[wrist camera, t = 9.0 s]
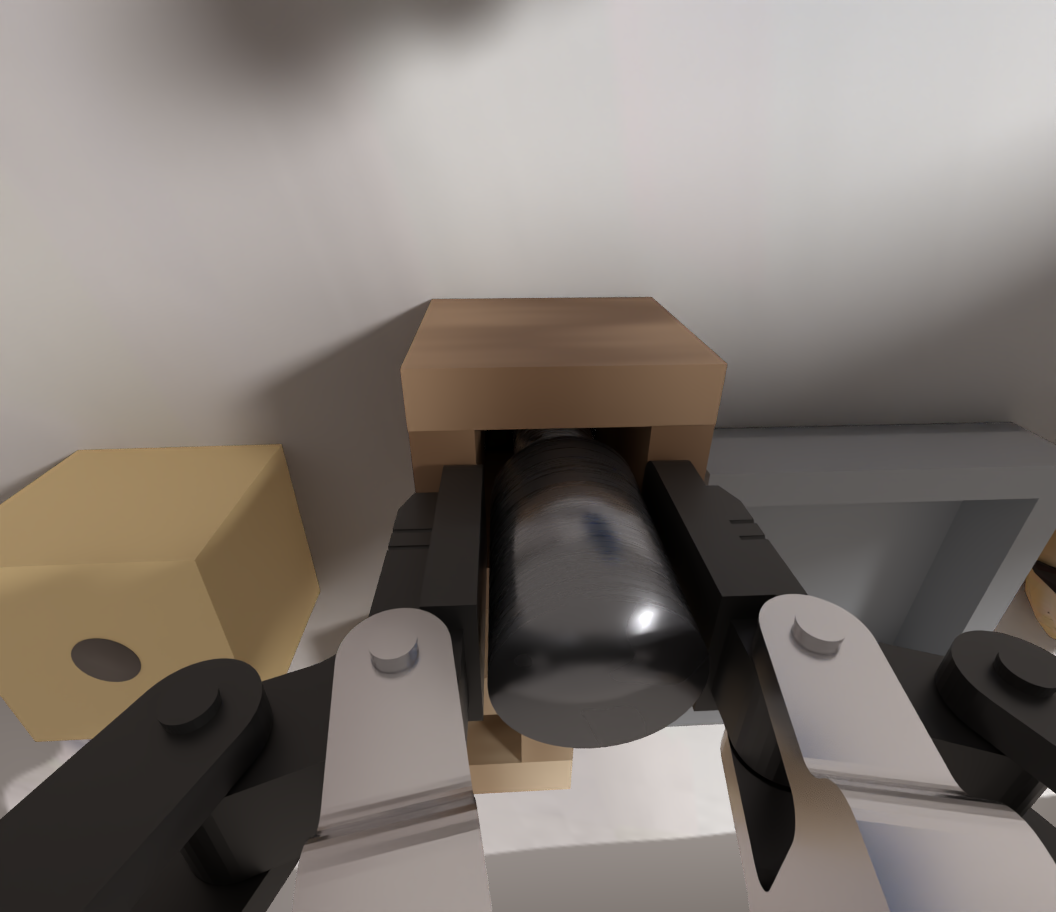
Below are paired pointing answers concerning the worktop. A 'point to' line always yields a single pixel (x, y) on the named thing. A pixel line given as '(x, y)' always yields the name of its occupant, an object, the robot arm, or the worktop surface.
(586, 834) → the worktop surface
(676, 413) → the block
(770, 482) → the tray
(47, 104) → the worktop surface
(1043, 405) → the worktop surface
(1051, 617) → the donut
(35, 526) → the block
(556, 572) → the cylinder
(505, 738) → the stand
